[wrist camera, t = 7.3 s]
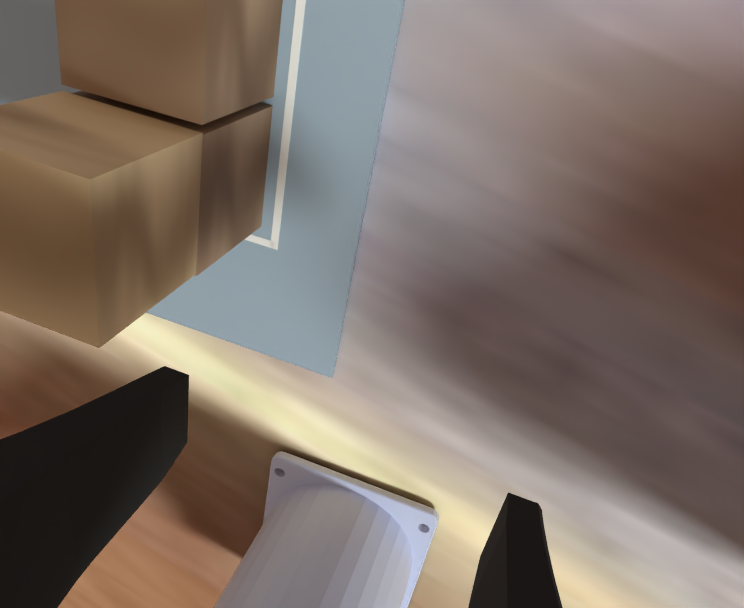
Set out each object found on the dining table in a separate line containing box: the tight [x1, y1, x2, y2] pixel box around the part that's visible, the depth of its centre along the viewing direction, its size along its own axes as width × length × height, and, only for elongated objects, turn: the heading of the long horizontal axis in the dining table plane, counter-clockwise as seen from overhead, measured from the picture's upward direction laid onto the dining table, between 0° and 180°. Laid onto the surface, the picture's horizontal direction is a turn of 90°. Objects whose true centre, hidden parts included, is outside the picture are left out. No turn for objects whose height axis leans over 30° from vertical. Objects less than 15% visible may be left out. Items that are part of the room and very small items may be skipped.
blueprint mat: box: [0, 0, 404, 378], centre depth 23 cm, size 16×20×1 cm
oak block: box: [0, 91, 203, 348], centre depth 16 cm, size 4×4×4 cm
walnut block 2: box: [72, 91, 273, 276], centre depth 20 cm, size 4×4×4 cm
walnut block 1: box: [55, 0, 283, 125], centre depth 18 cm, size 4×4×4 cm
